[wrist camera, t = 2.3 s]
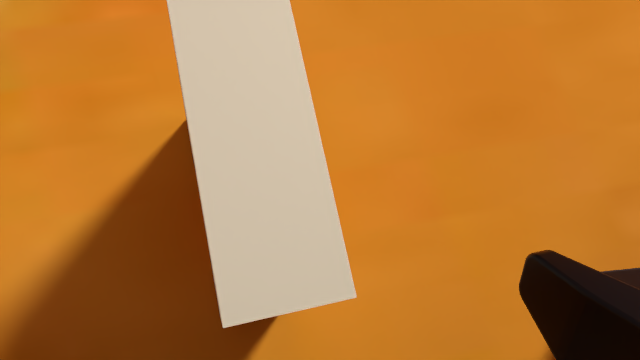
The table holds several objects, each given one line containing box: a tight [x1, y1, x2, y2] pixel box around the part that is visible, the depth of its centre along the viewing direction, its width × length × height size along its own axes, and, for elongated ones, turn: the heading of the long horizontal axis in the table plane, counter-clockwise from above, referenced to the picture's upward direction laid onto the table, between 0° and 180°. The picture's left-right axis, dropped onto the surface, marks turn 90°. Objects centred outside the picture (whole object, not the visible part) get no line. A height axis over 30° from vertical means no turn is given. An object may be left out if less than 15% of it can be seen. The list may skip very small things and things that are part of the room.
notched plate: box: [167, 0, 357, 328], centre depth 15 cm, size 8×2×10 cm, turn 13°
